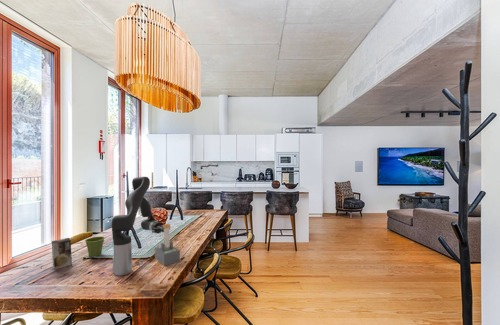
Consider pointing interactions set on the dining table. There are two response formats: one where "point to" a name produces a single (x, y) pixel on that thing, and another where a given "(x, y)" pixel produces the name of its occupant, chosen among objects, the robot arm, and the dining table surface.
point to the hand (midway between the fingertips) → (166, 231)
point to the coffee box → (61, 253)
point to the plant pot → (94, 245)
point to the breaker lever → (166, 235)
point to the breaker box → (167, 254)
